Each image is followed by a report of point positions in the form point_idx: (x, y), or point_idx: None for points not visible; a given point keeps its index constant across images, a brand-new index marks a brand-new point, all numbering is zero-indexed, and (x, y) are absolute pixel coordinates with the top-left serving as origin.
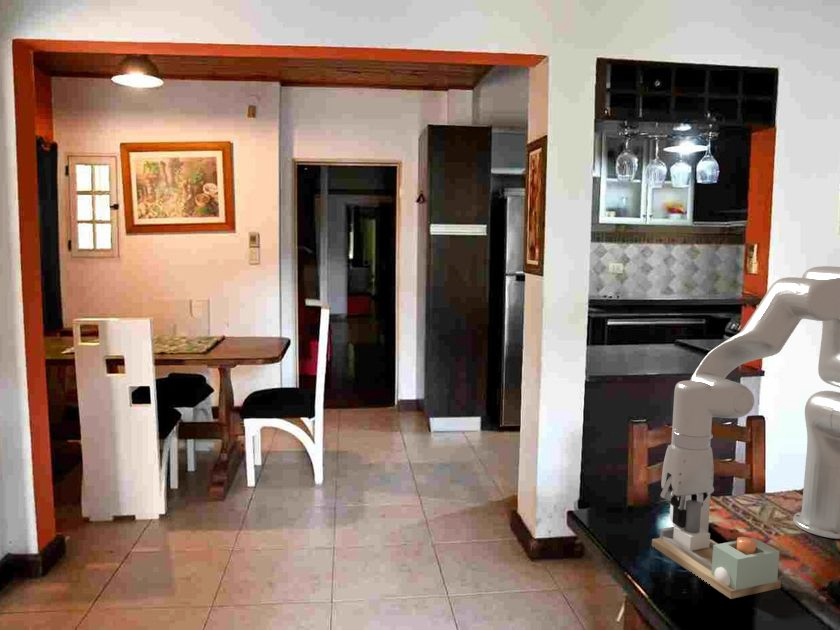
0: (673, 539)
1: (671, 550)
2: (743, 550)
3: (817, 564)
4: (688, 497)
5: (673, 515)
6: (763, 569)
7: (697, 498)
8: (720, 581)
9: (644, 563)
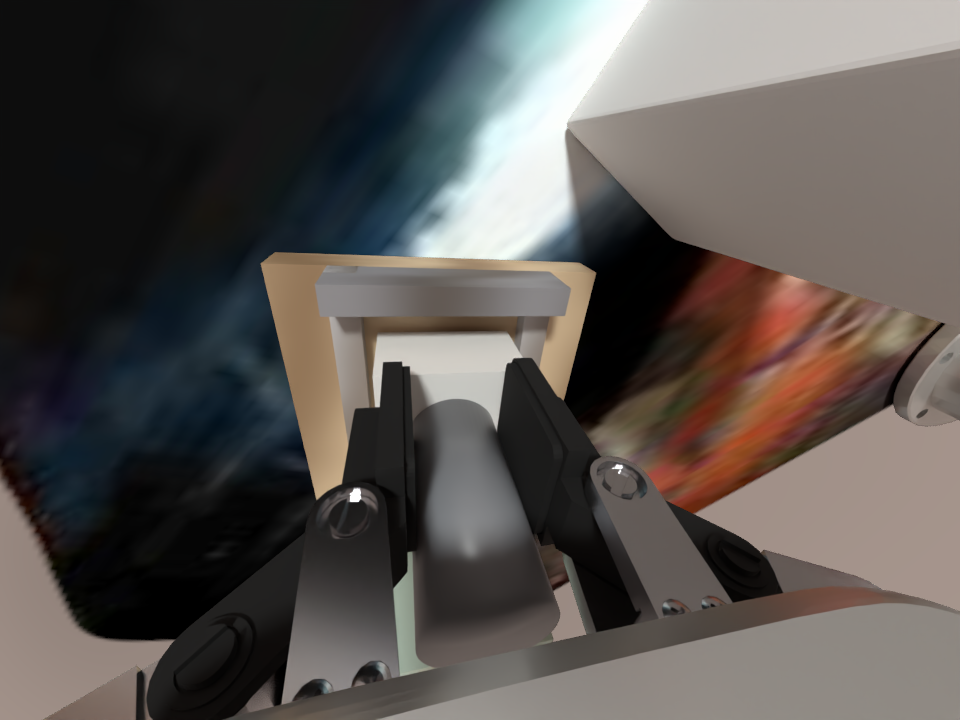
0: (378, 337)
1: (305, 399)
2: None
3: (703, 491)
4: (815, 192)
5: (351, 438)
6: None
7: (590, 617)
8: None
9: (131, 392)
